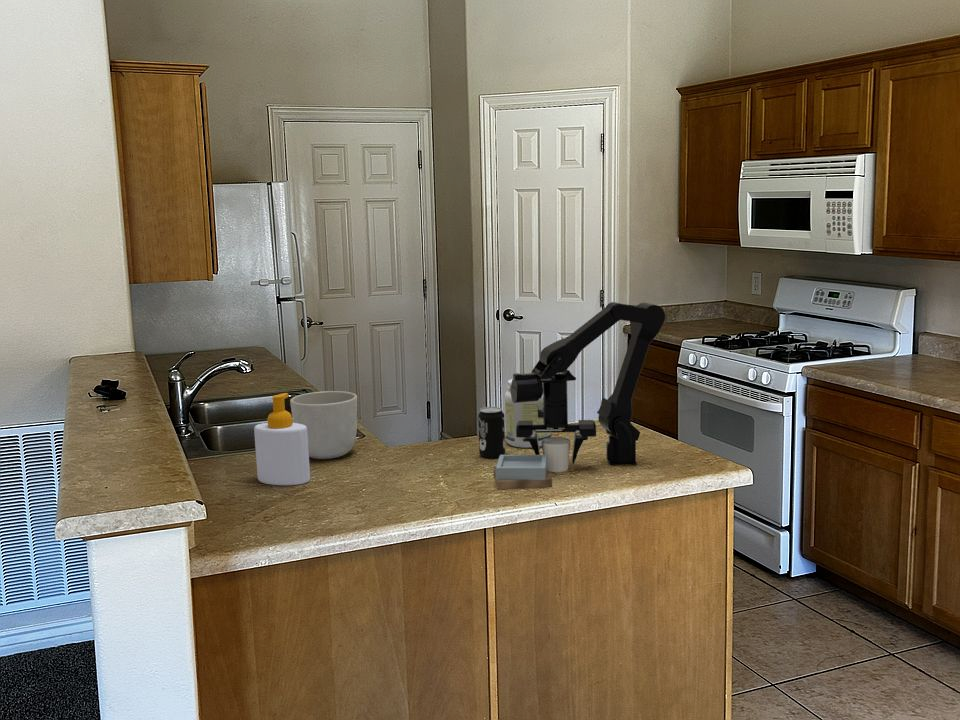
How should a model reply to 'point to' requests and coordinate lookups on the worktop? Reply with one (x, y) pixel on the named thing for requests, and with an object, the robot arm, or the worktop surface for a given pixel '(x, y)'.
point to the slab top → (521, 467)
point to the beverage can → (491, 432)
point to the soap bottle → (281, 448)
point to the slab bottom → (523, 483)
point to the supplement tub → (522, 419)
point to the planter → (327, 421)
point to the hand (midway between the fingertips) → (556, 463)
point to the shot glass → (556, 453)
